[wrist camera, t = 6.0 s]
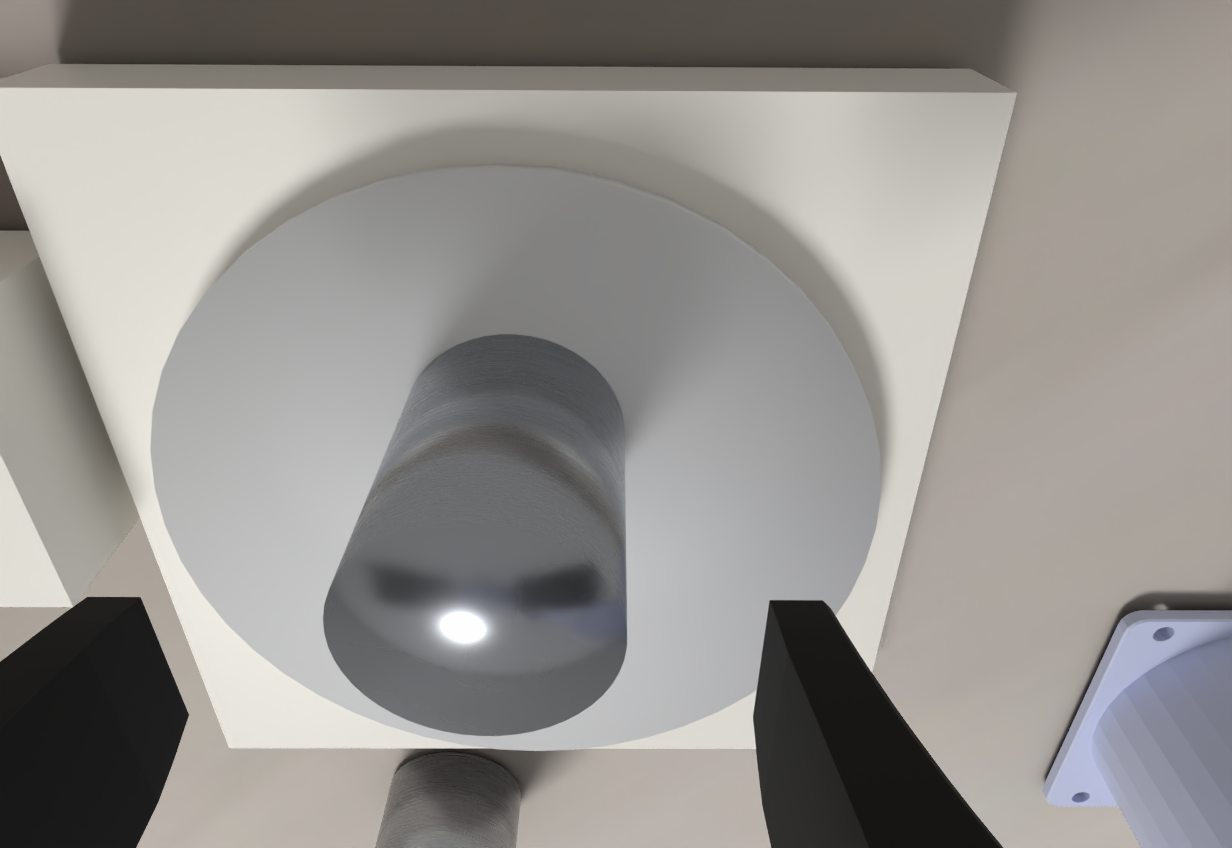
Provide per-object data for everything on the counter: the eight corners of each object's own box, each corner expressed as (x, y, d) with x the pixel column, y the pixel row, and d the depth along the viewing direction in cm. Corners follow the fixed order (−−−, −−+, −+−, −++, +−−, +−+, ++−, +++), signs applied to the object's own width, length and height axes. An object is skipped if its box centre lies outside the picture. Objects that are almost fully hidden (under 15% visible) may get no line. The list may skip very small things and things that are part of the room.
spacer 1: (617, 326, 14) (616, 513, 10) (630, 512, 16) (635, 730, 12) (383, 341, 14) (285, 531, 10) (427, 523, 16) (362, 741, 12)
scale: (970, 68, 15) (1077, 123, 11) (835, 686, 23) (872, 822, 20) (-179, 62, 15) (-418, 115, 11) (115, 685, 23) (31, 821, 20)
